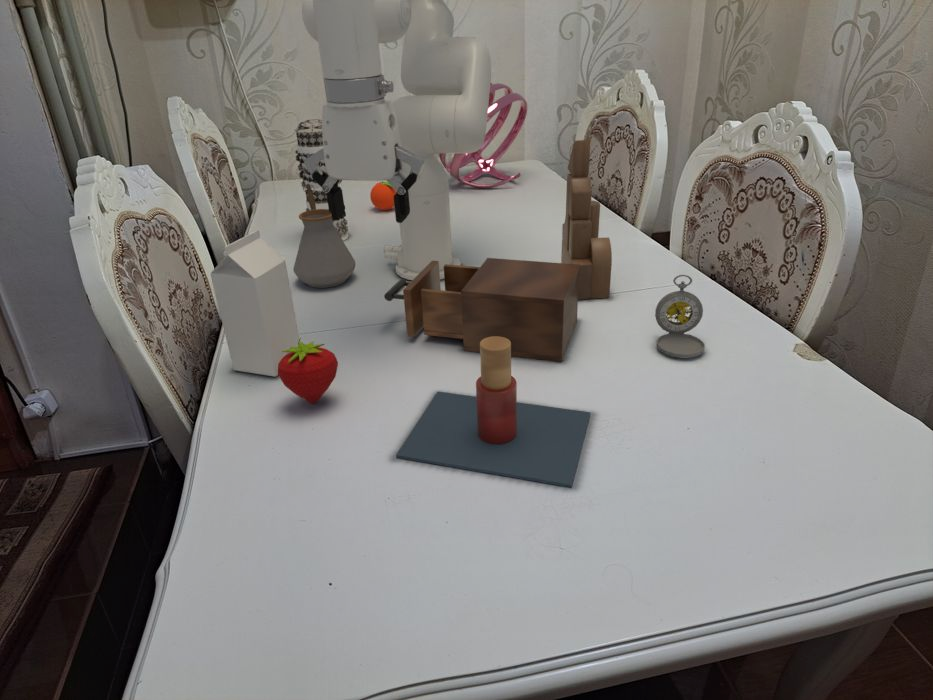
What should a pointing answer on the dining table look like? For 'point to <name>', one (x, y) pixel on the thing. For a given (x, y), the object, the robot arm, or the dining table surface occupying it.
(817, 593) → the dining table surface
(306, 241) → the coffee pot
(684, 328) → the pocket watch
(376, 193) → the clementine
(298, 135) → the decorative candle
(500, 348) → the red cylinder
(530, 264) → the cabinet
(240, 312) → the milk carton
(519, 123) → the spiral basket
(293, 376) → the strawberry
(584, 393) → the dining table surface
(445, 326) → the drawer
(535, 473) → the mat
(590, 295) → the wooden toy
